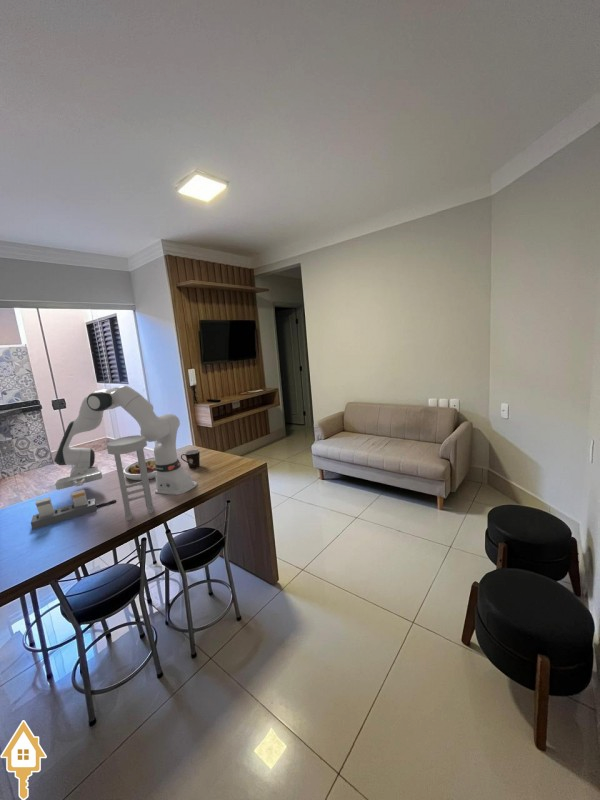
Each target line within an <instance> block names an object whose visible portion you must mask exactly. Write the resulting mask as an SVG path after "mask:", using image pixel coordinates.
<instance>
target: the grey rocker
mask: <svg viewBox="0 0 600 800" xmlns="http://www.w3.org/2000/svg"><path fill="white" fill-rule="evenodd" d="M35 506H36V508H37V511H38V514H39V515H40V516H44V515H47V514H51V513H54V506H53V503H52V500H51V497H50V496H49V497H45V498H42V499H37V500H35Z"/></svg>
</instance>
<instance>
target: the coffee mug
mask: <svg viewBox="0 0 600 800" xmlns="http://www.w3.org/2000/svg"><path fill="white" fill-rule="evenodd" d="M183 456H185V457H186V460H185V459H184V458H183ZM180 458H181V460H183V462H185V463H187V465H188V469H190V470H196V469H198V468H200V464H201V462H200V461H201V460H200V449H191V450H188V451H186V452H184V453H182V454H181V455H180Z"/></svg>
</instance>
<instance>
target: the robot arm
mask: <svg viewBox="0 0 600 800" xmlns="http://www.w3.org/2000/svg"><path fill="white" fill-rule="evenodd" d="M118 407H121V408H122V409H123V410H124V411H126V412H127V414H129V415H130V416H131V417H132V418H133V419H134V420H135V421H136V422H137V424H138V425H139V428H140V436H145V438H146V442H149V443H152V442H156V443H155V445H154V447H153V455H154V456H153V457H155V462H156V463H155V468H156V471H157V474H156V478H155V486H156V487H155V490H154V493H155V494H161V495H163V494H164V495H172V496H173V495H175V496H179V495H182V494H185V493H186V492H188V491H190V490H192V489H194V488H195V487H197V485H198V482H196V481H194V480H192V475H191V474H190V472H189V471H187V470H186V469H184V467H182V462H181V461H180V459H179V458H178V454H177V453H178V452H177V435H178V434H177V433H178V430H179V427H180V425H181V422H180V419H179V417H178V416H177V415H176V414H172V413H171V414H169V413H167V414H163V415H161V416H158V415H157V414H156V413H155V412H154V406H153V404H152V403H151V402H150V401H148V400H147V399H146V398H145V397H144V396H143V395H142V394H141V393H139V391H137V390H135V389H133V388H132V387H130V386H128V385H121V386H119V387H112V388H104V389H99V390H96V391H93V392H91V393H90V394H88V395H87V396H85V397H84V398H83V400H82V402H81V404H80V408H79V410H78V416H77V417H76V418H75V419H74V420H72V421H70V422H69V423H68V425H67V428H66V429H65V432H64V434H63V436H62V438H61V441H60V443H59V446H58V448H57V450H55V453H54V454H53V462H54V463H55V464H56V465H58V466H72V467H71V469H70V474H69V476H66V477H63V478H60V479H58V480H57V481H55V483H54V485H55V488H56V490H58V491H60V490H64V489H68V488H71V487H75V486H76V487H79V486H83V485H84V484H86V483H91V482H94V481H98V480H102V479H103V474H102V471H101V469H100V468H98V466H95V465H94V464H95V462H96V461H95V460H96V455H95V451H94V450H93V449H92V448H91V447H71V446H70V444H71V442H72V439H73V437H74V436H76V435H77V434H81V433H86V432H91V431H93V430H95V429H97V428H98V427H100V426H101V424H102V421H103V417H104V412H105V411H108V410H112V409H116V408H118Z"/></svg>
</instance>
